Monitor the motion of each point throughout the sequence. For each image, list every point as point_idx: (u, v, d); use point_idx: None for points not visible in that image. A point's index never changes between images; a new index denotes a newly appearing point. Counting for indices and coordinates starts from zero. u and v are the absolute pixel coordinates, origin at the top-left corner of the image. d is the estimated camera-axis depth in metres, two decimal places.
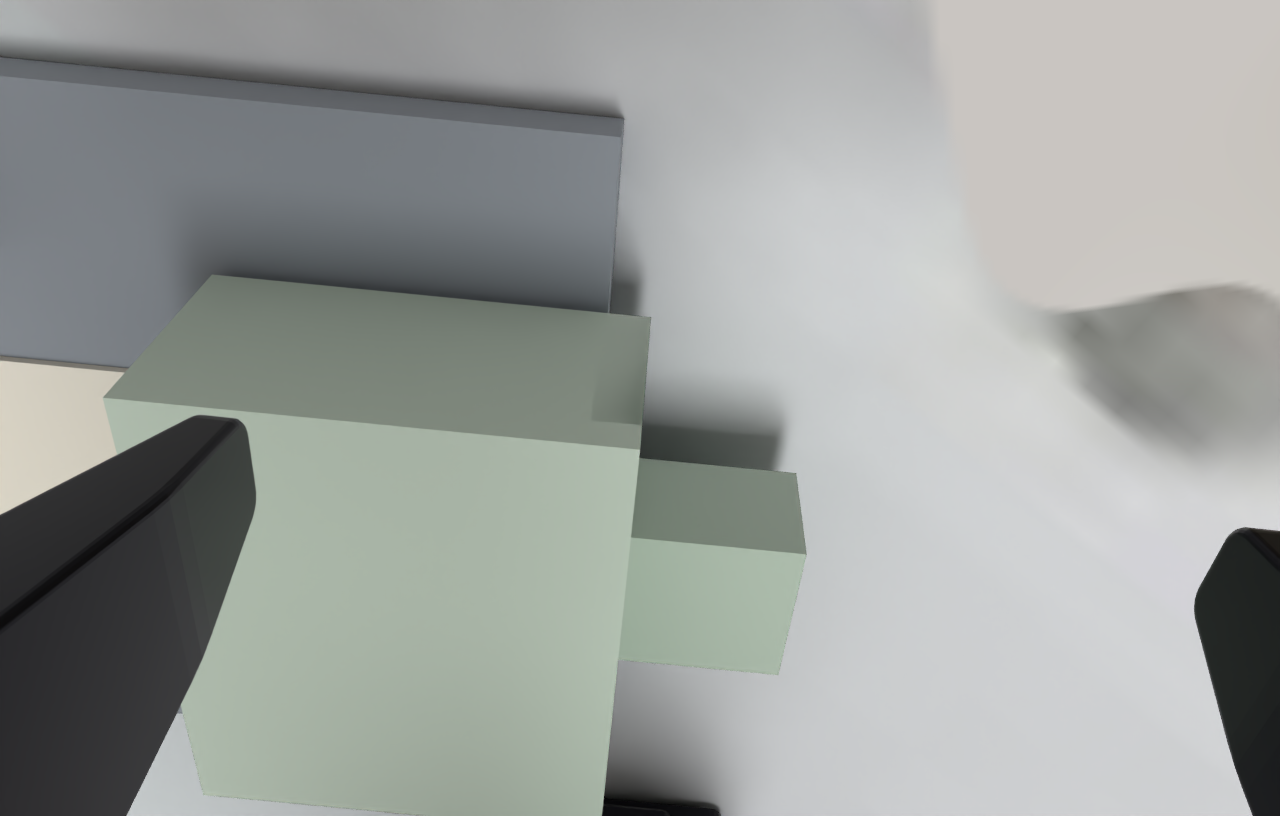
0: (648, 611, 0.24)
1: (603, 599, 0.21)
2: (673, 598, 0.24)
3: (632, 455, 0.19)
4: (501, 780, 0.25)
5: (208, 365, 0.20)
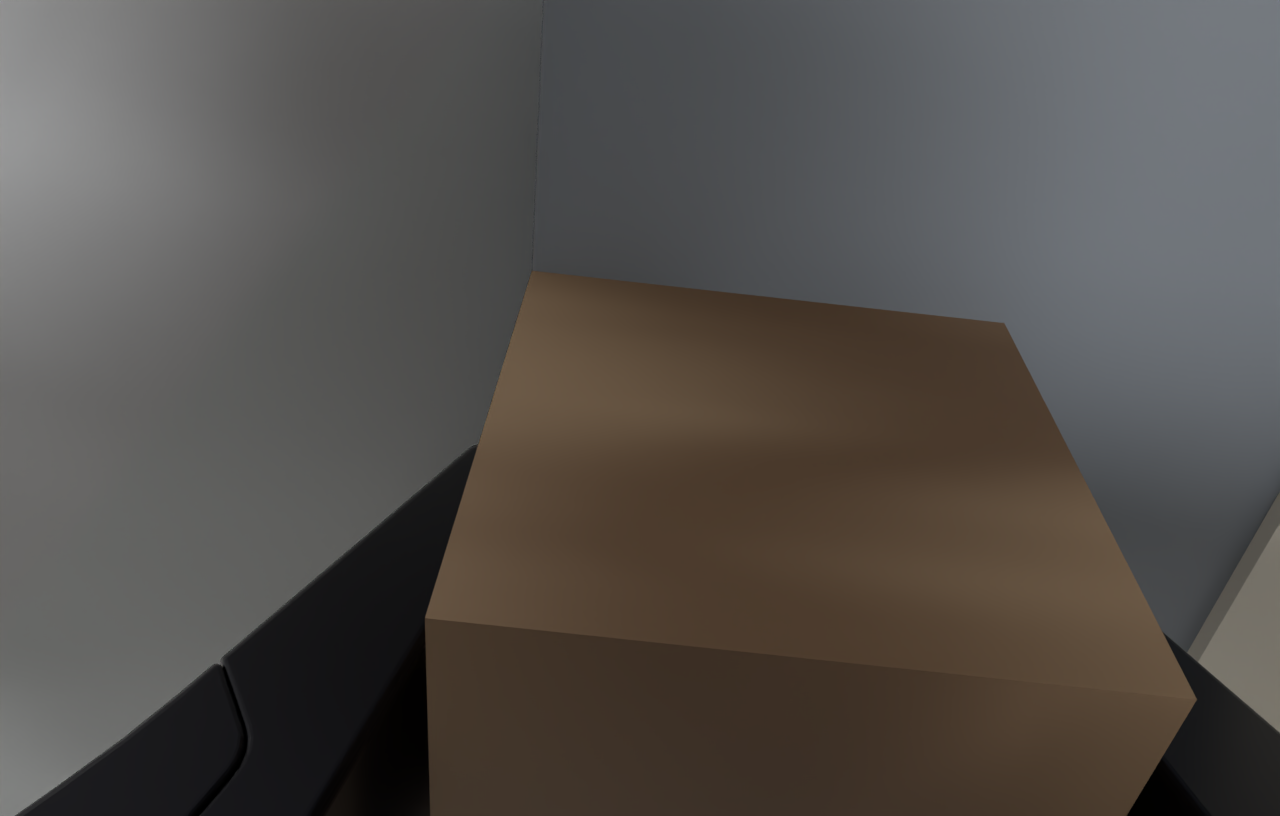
0: None
1: None
2: None
3: None
4: None
5: None
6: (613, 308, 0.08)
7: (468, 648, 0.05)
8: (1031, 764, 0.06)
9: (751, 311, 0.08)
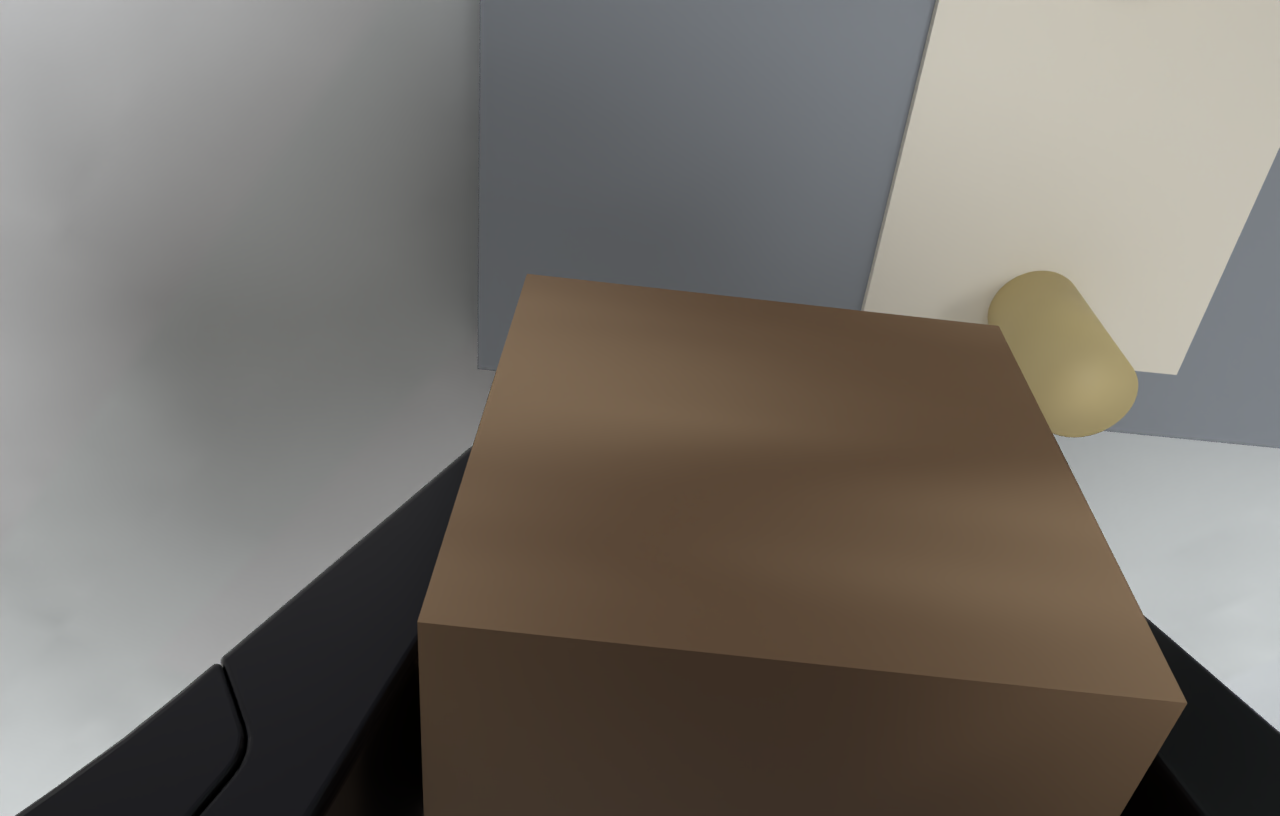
0: None
1: None
2: None
3: None
4: None
5: None
6: (607, 311, 0.08)
7: (460, 652, 0.05)
8: (1022, 767, 0.06)
9: (746, 315, 0.08)
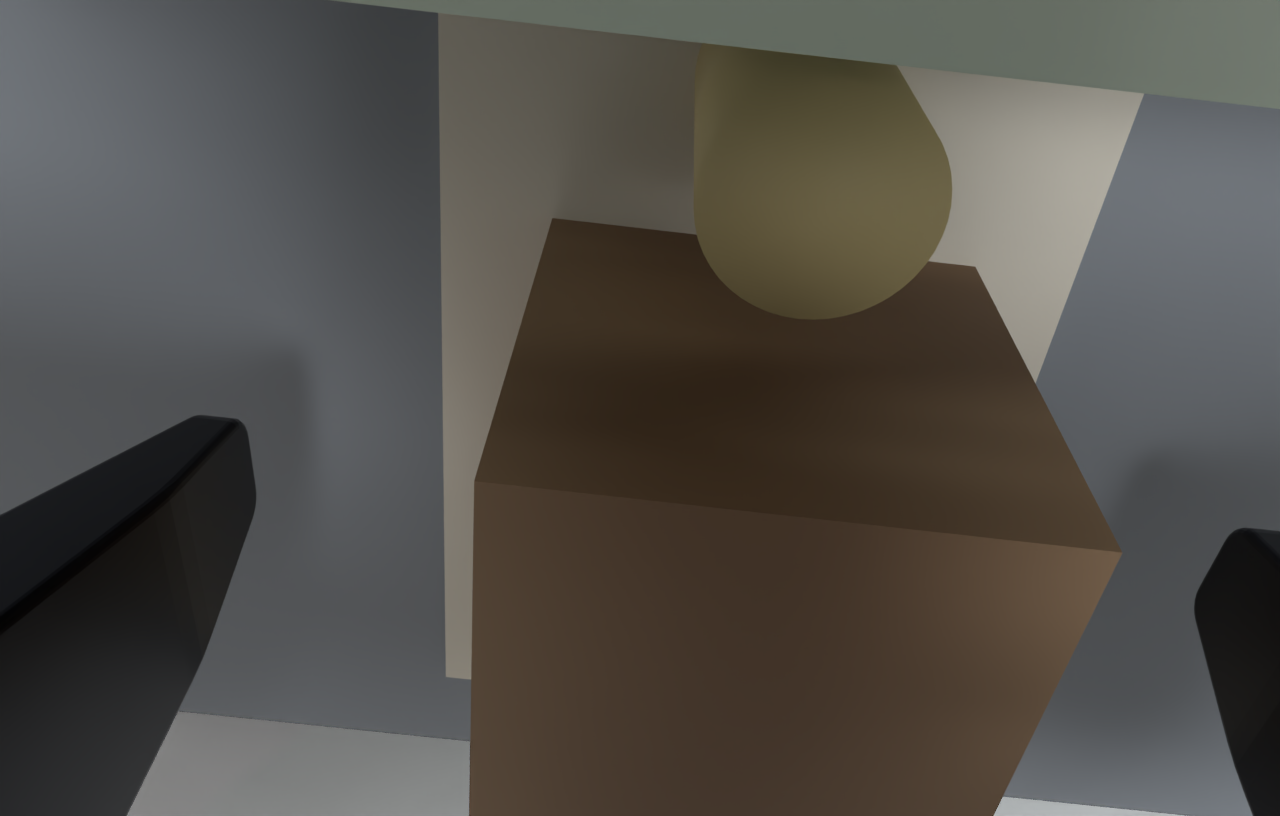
0: None
1: None
2: None
3: None
4: None
5: None
6: (625, 250, 0.09)
7: (509, 508, 0.06)
8: (985, 614, 0.07)
9: None
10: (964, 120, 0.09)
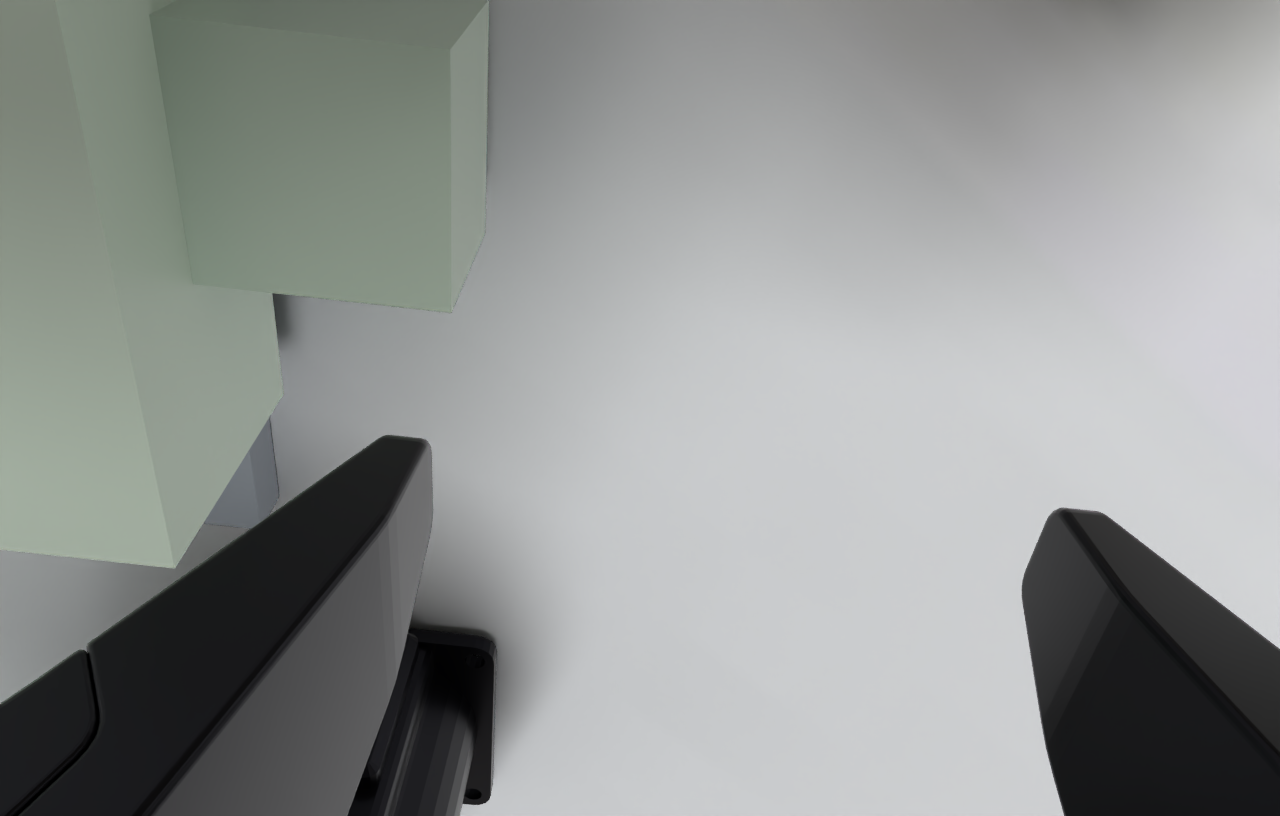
0: (218, 182, 0.15)
1: (27, 46, 0.12)
2: (252, 153, 0.14)
3: None
4: None
5: None
6: None
7: None
8: None
9: None
10: None
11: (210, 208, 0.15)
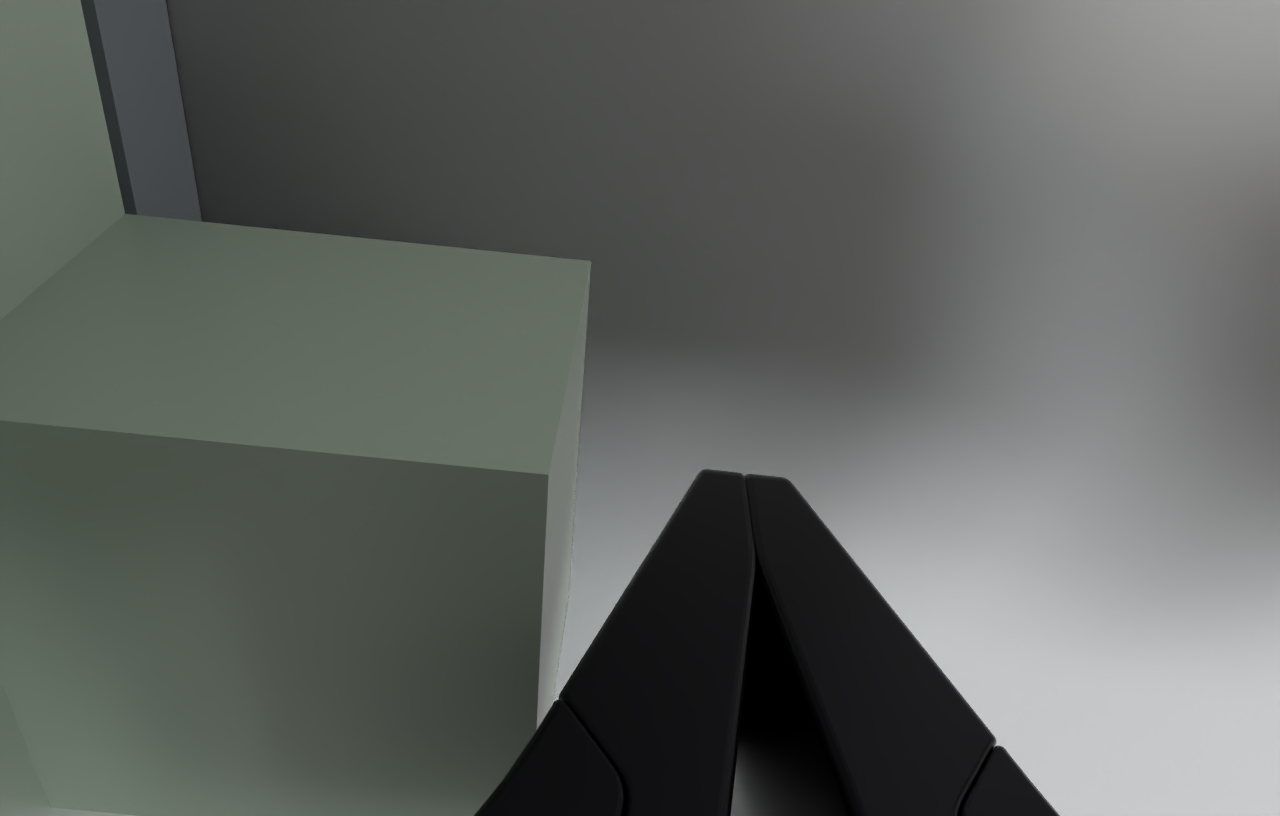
0: (77, 673, 0.07)
1: None
2: (141, 632, 0.07)
3: None
4: None
5: None
6: None
7: None
8: None
9: None
10: None
11: (68, 708, 0.08)
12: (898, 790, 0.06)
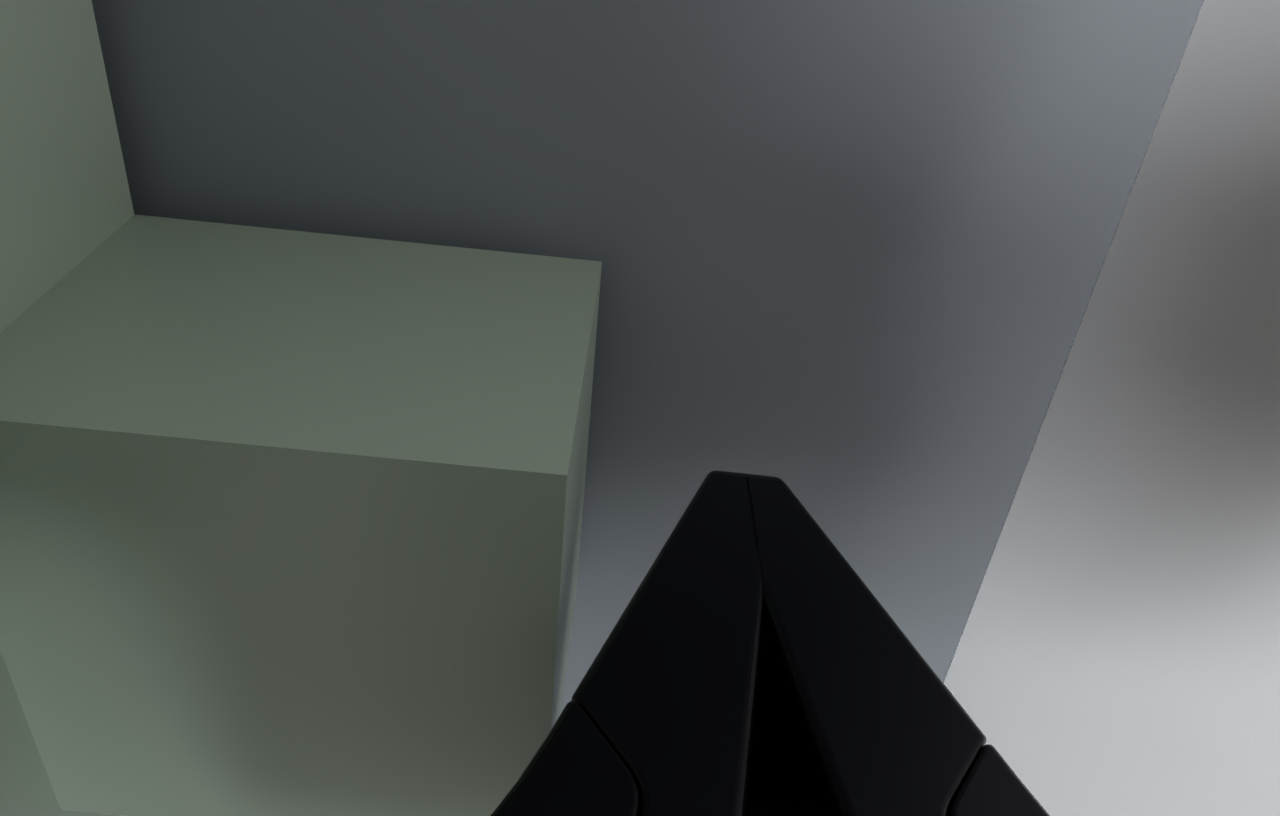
0: (91, 674, 0.07)
1: None
2: (156, 634, 0.07)
3: None
4: None
5: None
6: None
7: None
8: None
9: None
10: None
11: (80, 711, 0.08)
12: (887, 789, 0.06)
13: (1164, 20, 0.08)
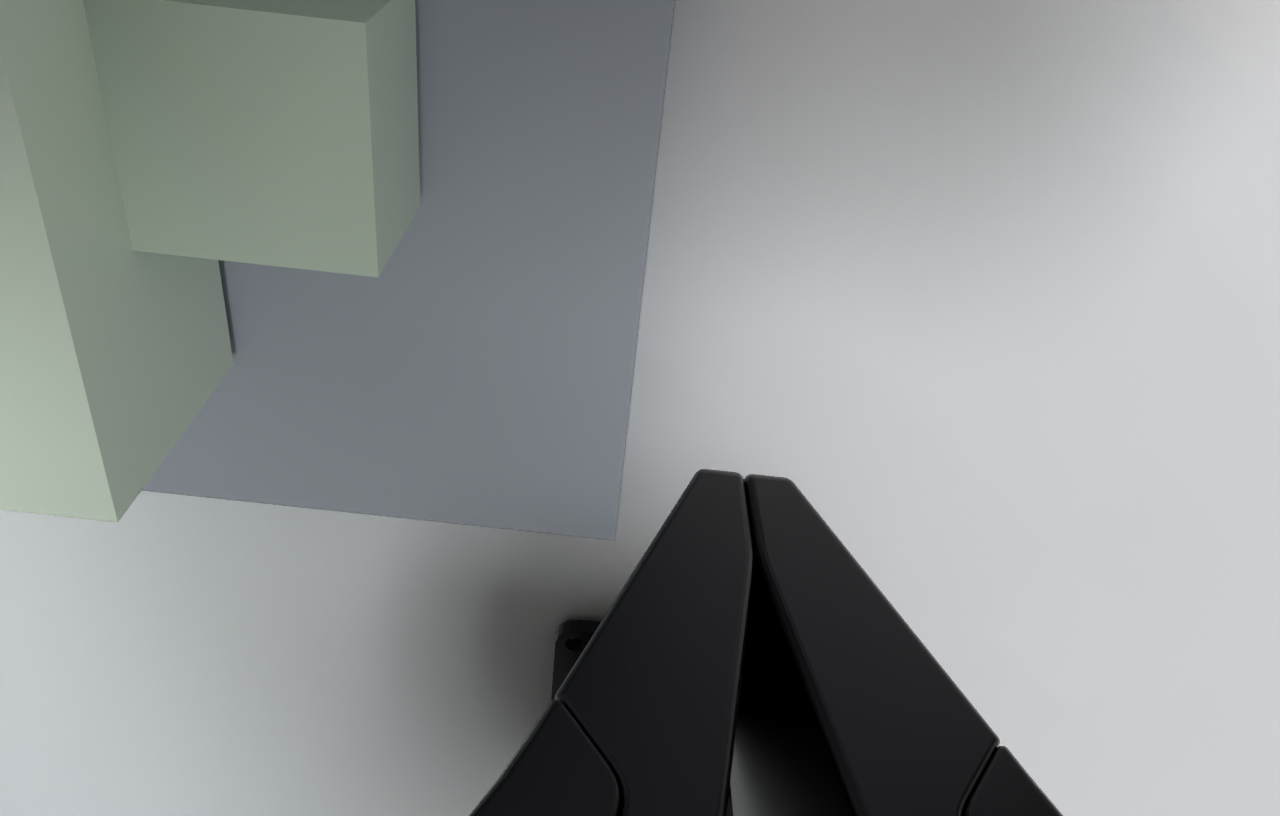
0: (152, 152, 0.16)
1: None
2: (183, 124, 0.15)
3: None
4: None
5: None
6: None
7: None
8: None
9: None
10: None
11: (146, 177, 0.16)
12: (902, 791, 0.06)
13: None
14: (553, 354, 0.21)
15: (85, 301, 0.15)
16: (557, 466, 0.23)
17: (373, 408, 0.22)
